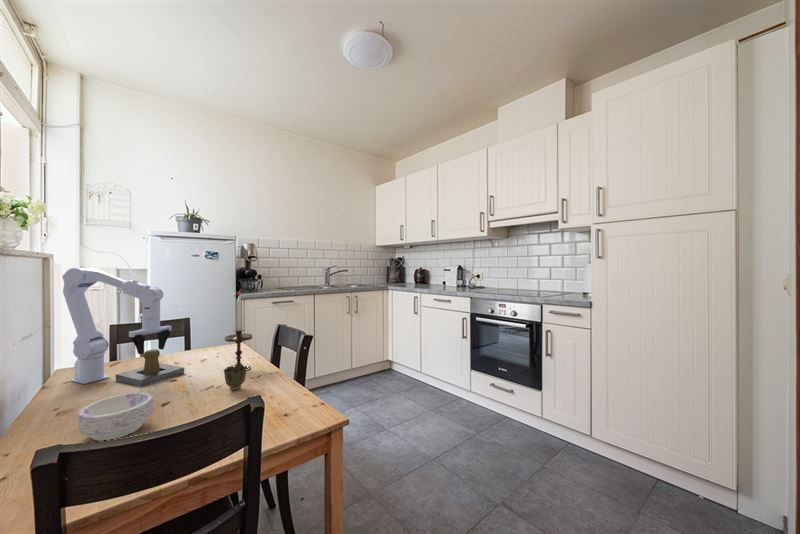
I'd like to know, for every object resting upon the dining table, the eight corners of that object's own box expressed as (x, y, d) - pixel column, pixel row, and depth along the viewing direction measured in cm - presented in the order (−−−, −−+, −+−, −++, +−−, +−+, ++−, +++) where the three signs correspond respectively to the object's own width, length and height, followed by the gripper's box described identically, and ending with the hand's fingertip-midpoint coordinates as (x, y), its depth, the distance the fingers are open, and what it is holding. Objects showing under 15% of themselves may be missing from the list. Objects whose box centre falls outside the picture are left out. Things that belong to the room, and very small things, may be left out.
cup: (223, 395, 112) (223, 372, 112) (223, 388, 119) (224, 366, 119) (247, 391, 116) (247, 369, 116) (246, 384, 122) (246, 363, 122)
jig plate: (115, 380, 125) (115, 374, 125) (159, 368, 140) (159, 362, 140) (140, 387, 119) (140, 380, 119) (184, 373, 134) (184, 367, 134)
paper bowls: (61, 444, 81) (61, 413, 81) (122, 416, 96) (122, 390, 96) (111, 450, 78) (111, 418, 78) (166, 421, 93) (166, 394, 93)
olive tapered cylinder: (150, 380, 126) (150, 352, 126) (138, 379, 127) (138, 351, 127) (164, 375, 132) (164, 348, 132) (152, 374, 133) (153, 347, 133)
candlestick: (244, 364, 147) (244, 287, 147) (257, 368, 141) (257, 289, 141) (219, 370, 139) (220, 289, 138) (232, 375, 132) (232, 290, 132)
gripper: (136, 321, 121) (136, 357, 121) (176, 315, 135) (176, 348, 135) (125, 320, 124) (125, 355, 124) (165, 314, 137) (165, 346, 137)
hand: (151, 351), depth 129 cm, fingers open, 7 cm apart
